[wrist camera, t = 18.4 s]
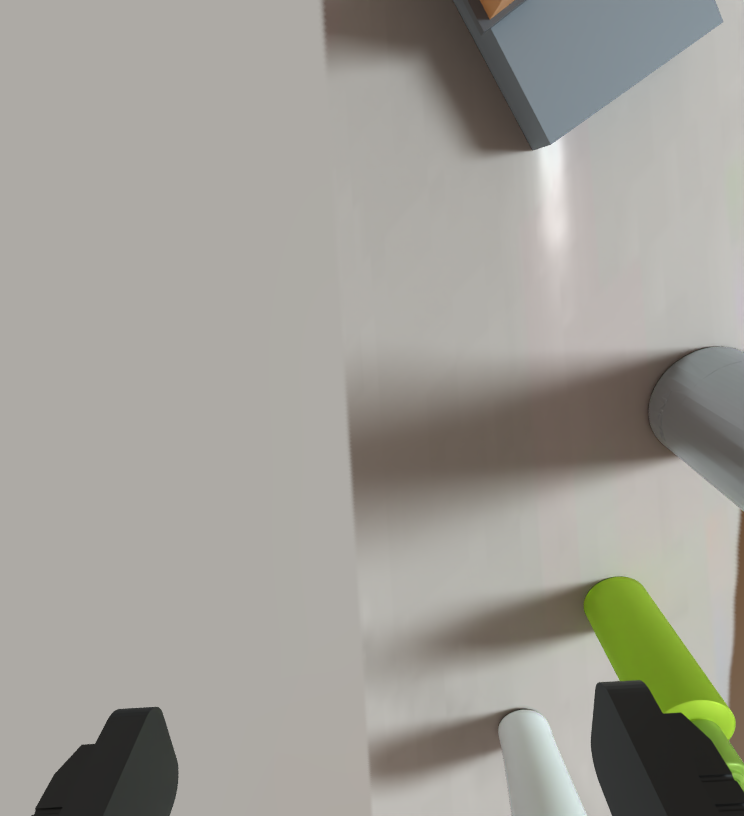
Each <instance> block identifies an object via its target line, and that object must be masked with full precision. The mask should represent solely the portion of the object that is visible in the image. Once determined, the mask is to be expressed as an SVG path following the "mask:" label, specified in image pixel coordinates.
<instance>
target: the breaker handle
mask: <svg viewBox="0 0 744 816" xmlns="http://www.w3.org/2000/svg"><path fill="white" fill-rule="evenodd" d="M526 1H527V0H463V2H464V4H465V6H466V8H467V10H468V12H469V14H470V16H471V18H472V20H473V21H474V23H475V25H476V27H477V29H478V31H479V33H480V35H481V36H482V35H483V34H485V33H486V32H487V31H488V30H490V29H491V28H492V27H494V26H495V25H496V24H497V23H499V22H500V21H501V20H503V19H504V18H505V17H506V16H508V15H509V14H510V13H511V12H513V11H514V10H515V9H517V8H518V7H519V6H520V5H522V4H523V3H524V2H526Z"/></svg>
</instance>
